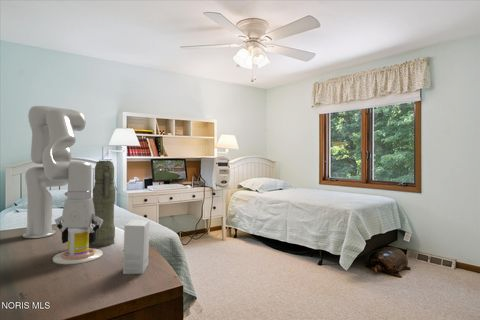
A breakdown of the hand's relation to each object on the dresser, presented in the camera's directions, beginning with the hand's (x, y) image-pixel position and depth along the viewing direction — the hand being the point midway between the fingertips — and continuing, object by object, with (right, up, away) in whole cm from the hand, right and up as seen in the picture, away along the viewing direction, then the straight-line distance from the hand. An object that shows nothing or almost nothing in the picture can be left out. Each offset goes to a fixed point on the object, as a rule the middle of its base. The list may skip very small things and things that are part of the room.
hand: (78, 242), depth 109 cm
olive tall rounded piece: (+1, -5, +17) cm, 18 cm away
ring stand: (0, -5, 0) cm, 5 cm away
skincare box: (+25, -6, -12) cm, 28 cm away
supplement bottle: (0, -5, 0) cm, 5 cm away
